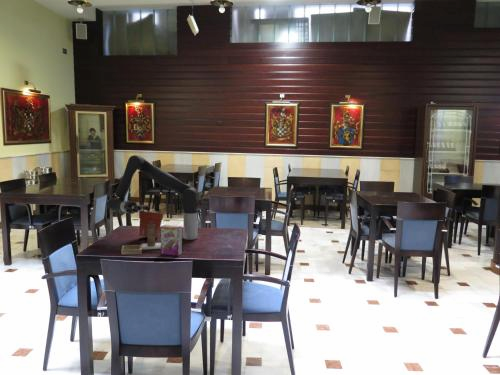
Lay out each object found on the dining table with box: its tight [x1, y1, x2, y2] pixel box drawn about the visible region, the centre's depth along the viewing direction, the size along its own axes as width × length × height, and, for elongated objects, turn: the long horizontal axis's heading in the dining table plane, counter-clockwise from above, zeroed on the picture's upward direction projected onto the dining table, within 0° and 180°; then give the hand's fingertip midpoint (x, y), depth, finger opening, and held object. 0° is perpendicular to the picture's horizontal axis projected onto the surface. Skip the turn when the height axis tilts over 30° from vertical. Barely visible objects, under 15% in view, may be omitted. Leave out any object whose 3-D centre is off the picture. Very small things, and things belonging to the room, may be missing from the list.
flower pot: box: [138, 210, 165, 239], centre depth 276 cm, size 16×16×16 cm
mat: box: [140, 242, 161, 250], centre depth 256 cm, size 12×12×1 cm
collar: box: [120, 244, 143, 256], centre depth 244 cm, size 11×11×2 cm
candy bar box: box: [160, 224, 183, 257], centre depth 239 cm, size 11×5×16 cm, turn 74°
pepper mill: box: [146, 221, 156, 247], centre depth 255 cm, size 5×5×15 cm
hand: (143, 209), depth 258 cm, fingers open, 8 cm apart
